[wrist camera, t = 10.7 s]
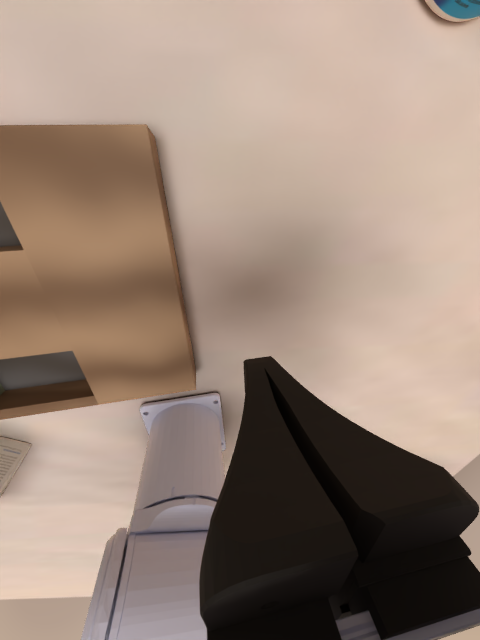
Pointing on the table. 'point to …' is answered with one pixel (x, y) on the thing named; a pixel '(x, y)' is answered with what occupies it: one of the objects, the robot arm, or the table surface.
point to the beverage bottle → (455, 9)
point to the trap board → (86, 271)
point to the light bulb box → (10, 459)
